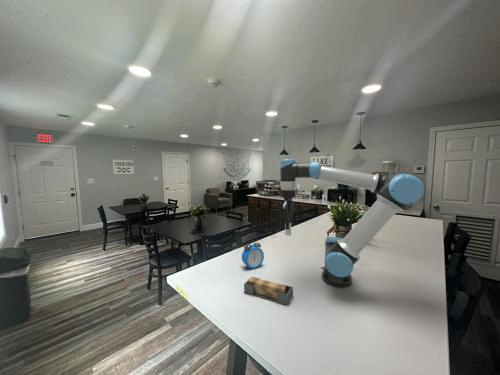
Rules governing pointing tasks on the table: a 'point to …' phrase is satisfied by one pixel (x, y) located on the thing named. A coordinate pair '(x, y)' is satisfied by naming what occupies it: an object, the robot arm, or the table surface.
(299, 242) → the table surface
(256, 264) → the alarm clock
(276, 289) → the long wooden block
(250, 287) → the gray cradle tray
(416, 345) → the table surface
